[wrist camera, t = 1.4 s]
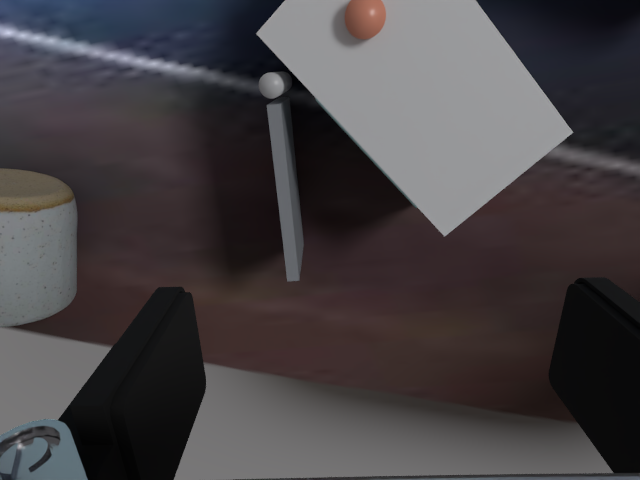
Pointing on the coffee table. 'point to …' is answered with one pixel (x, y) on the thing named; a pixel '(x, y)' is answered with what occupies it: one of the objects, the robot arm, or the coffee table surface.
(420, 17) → the camera body
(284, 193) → the side door
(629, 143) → the coffee table surface
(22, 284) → the ceramic mug
